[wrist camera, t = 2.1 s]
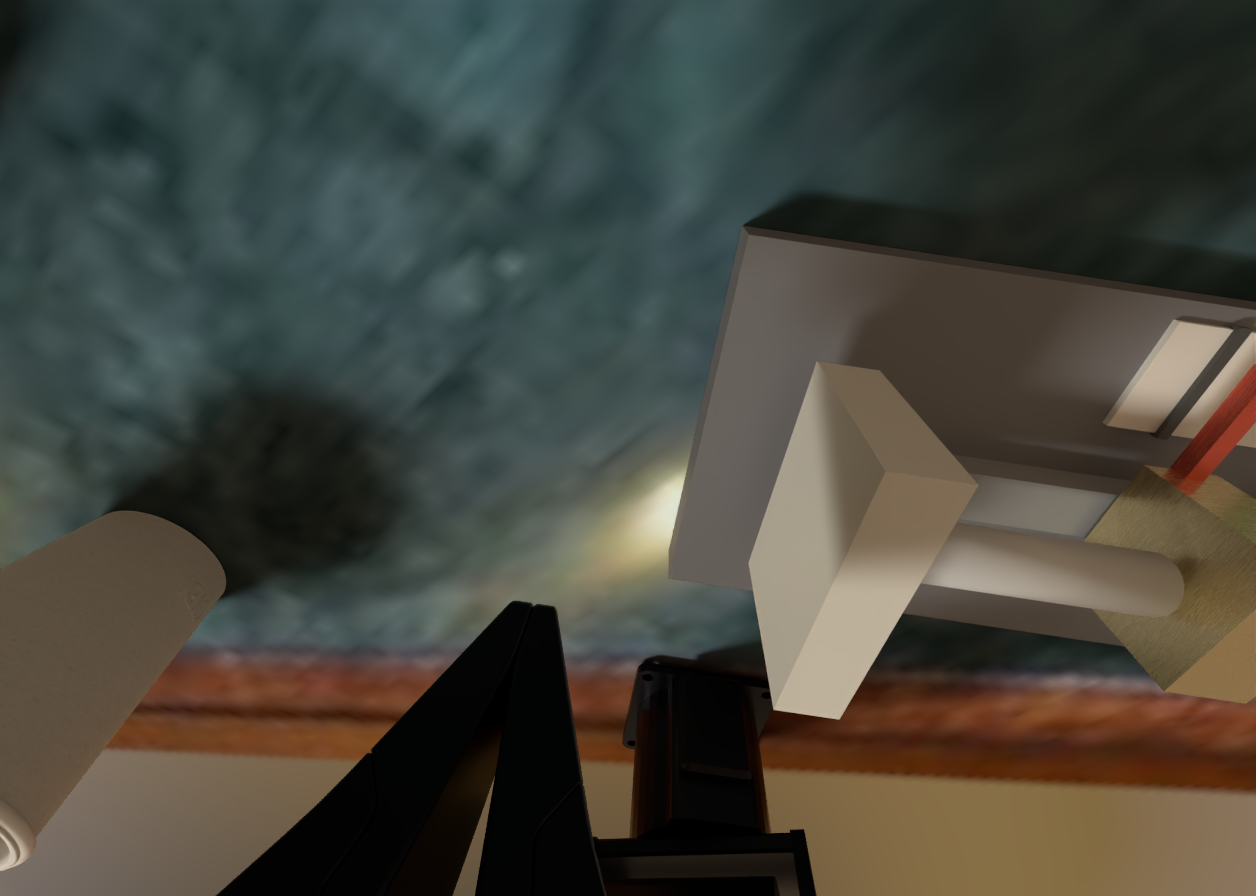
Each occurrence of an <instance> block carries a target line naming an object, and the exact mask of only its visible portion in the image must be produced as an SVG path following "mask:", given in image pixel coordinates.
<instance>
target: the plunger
mask: <svg viewBox="0 0 1256 896" xmlns="http://www.w3.org/2000/svg"><path fill="white" fill-rule="evenodd" d="M978 486H979V485H978V484H977V483H976V481H975V480H974V479H973V478H972V477H971V476H970V474H969V473H968V472H967V471H966V470H965V469H964V467H963V466H962V465H961V464H960V463H959V462H958V461H957V459H956V458H955V457H954V456H953V455H952V454H951V452H950V451H949V450H948V449H947V448H946V447H945V445H944V444H943V443H942V442H941V441H940V440H939V439H938V437H937V436H936V435H935V434H934V433H933V432H932V430H931V429H930V428H929V427H928V426H927V425H926V423H925V422H924V421H923V420H922V419H921V418H920V417H919V415H918V414H917V413H916V412H915V411H914V410H913V408H912V407H911V406H910V405H909V404H908V403H907V401H906V400H905V399H904V398H903V397H902V396H901V395H900V393H899V392H898V391H897V390H896V389H895V388H894V386H893V385H892V384H891V383H890V382H889V381H888V379H887V378H886V377H885V376H884V375H883V374H882V372H881V371H880V370H874V369H867V368H860V367H853V366H847V365H840V364H833V363H826V362H820V361H817V362H816V365H815V368H814V371H813V374H812V377H811V380H810V383H809V386H808V389H807V392H806V395H805V398H804V401H803V404H802V407H801V409H800V412H799V415H798V418H797V421H796V424H795V427H794V430H793V433H792V436H791V439H790V442H789V445H788V448H787V451H786V454H785V457H784V460H783V462H782V465H781V468H780V471H779V474H778V477H777V480H776V483H775V486H774V489H773V492H772V495H771V498H770V501H769V504H768V507H767V510H766V513H765V516H764V518H763V521H762V524H761V527H760V530H759V533H758V536H757V539H756V542H755V545H754V548H753V551H752V554H751V557H750V560H749V563H748V564H749V569H750V575H751V581H752V587H753V593H754V599H755V605H756V610H757V616H758V622H759V628H760V634H761V640H762V646H763V651H764V657H765V663H766V669H767V675H768V681H769V686H770V692H771V698H772V704H773V710H778V711H785V712H791V713H798V714H805V715H811V716H818V717H825V718H832V719H838V720H839V719H840V718H841V716H842V714H843V713H844V711H845V709H846V708H847V706H848V704H849V703H850V701H851V699H852V697H853V696H854V694H855V692H856V691H857V689H858V687H859V686H860V684H861V682H862V681H863V679H864V677H865V676H866V674H867V672H868V671H869V669H870V667H871V666H872V664H873V662H874V660H875V659H876V657H877V655H878V654H879V652H880V650H881V649H882V647H883V645H884V644H885V642H886V640H887V639H888V637H889V635H890V634H891V632H892V630H893V629H894V627H895V625H896V624H897V622H898V620H899V618H900V617H901V615H902V613H903V612H904V610H905V608H906V607H907V605H908V603H909V602H910V600H911V598H912V597H913V595H914V593H915V592H916V590H917V588H918V587H919V585H920V583H922V584H929V585H936V586H943V587H949V588H956V589H963V590H969V591H976V592H983V593H990V594H996V595H1003V596H1010V597H1017V598H1023V599H1030V600H1037V601H1043V602H1050V603H1057V604H1064V605H1070V606H1077V607H1084V608H1090V609H1097V610H1104V611H1111V612H1117V613H1124V614H1131V615H1138V616H1144V617H1151V618H1159V617H1164V616H1167V615H1169V614H1171V613H1172V612H1173V611H1175V610H1176V609H1177V608H1178V606H1179V605H1180V603H1181V601H1182V599H1183V595H1184V581H1183V577H1182V575H1181V572H1180V571H1179V569H1178V567H1177V566H1176V565H1175V564H1174V563H1173V562H1172V561H1171V560H1170V559H1169V558H1167V557H1166V556H1164V555H1162V554H1160V553H1157V552H1152V551H1145V550H1138V549H1132V548H1125V547H1118V546H1111V545H1105V544H1098V543H1091V542H1085V541H1078V540H1071V539H1064V538H1058V537H1051V536H1044V535H1037V534H1031V533H1024V532H1017V531H1011V530H1004V529H997V528H990V527H984V526H977V525H970V524H963V523H957V521H958V519H959V518H960V516H961V514H962V513H963V511H964V509H965V508H966V506H967V504H968V502H969V501H970V499H971V497H972V496H973V494H974V492H975V491H976V489H977V487H978Z"/></svg>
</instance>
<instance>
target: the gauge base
mask: <svg viewBox="0 0 1256 896" xmlns="http://www.w3.org/2000/svg"><path fill="white" fill-rule="evenodd" d="M817 361H820V362H826V363H833V364H840V365H847V366H853V367H860V368H867V369H874V370H880V371H881V372H882V374H883V375H884V376H885V377H886V378H887V379H888V381H889V382H890V383H891V384H892V385H893V386H894V388H895V389H896V390H897V391H898V392H899V393H900V395H901V396H902V397H903V398H904V399H905V400H906V401H907V403H908V404H909V405H910V406H911V407H912V408H913V410H914V411H915V412H916V413H917V414H918V415H919V417H920V418H921V419H922V420H923V421H924V422H925V423H926V425H927V426H928V427H929V428H930V429H931V430H932V432H933V433H934V434H935V435H936V436H937V437H938V439H939V440H940V441H941V442H942V443H943V444H944V445H945V447H946V448H947V449H948V450H949V451H950V452H951V454H952V455H953V456H954V457H955V458H956V459H957V461H958V462H959V463H960V464H961V465H962V466H963V467H964V469H965V470H966V471H967V472H968V473H969V474H970V476H971V477H972V478H973V479H974V480H975V481H976V483H977V484H978V485H979V486H978V487H977V489H976V491H975V492H974V494H973V496H972V497H971V499H970V501H969V502H968V504H967V506H966V508H965V509H964V511H963V513H962V514H961V516H960V518H959V519H958V521H957V523H963V524H970V525H977V526H984V527H990V528H997V529H1004V530H1011V531H1017V532H1024V533H1031V534H1037V535H1044V536H1051V537H1058V538H1064V539H1071V540H1078V541H1084V540H1085V539H1086V538H1087V536H1088V535H1089V534H1090V532H1091V531H1092V530H1093V529H1094V527H1095V526H1096V525H1097V523H1098V522H1099V521H1100V520H1101V518H1102V517H1103V516H1104V514H1105V513H1106V512H1107V511H1108V509H1109V508H1110V507H1111V506H1112V504H1113V503H1114V502H1115V500H1116V499H1117V498H1118V497H1119V495H1120V494H1121V493H1122V491H1123V490H1124V489H1125V488H1126V486H1127V485H1128V484H1129V482H1130V481H1131V480H1132V479H1133V477H1134V476H1135V475H1136V474H1137V472H1138V471H1139V470H1140V468H1141V467H1142V466H1143V465H1150V466H1157V467H1163V468H1170V467H1171V466H1172V464H1173V463H1174V462H1175V461H1176V459H1177V458H1178V457H1179V456H1180V454H1181V453H1182V452H1183V451H1184V450H1185V448H1186V447H1187V446H1188V445H1189V443H1190V442H1191V441H1192V440H1193V439H1194V437H1195V436H1196V435H1197V434H1198V432H1199V431H1200V430H1201V429H1202V428H1203V426H1204V425H1205V424H1206V423H1207V421H1208V420H1209V419H1210V418H1211V417H1212V415H1213V414H1214V413H1215V412H1216V410H1217V409H1218V408H1219V407H1220V405H1221V404H1222V403H1223V402H1224V401H1225V399H1226V398H1227V397H1228V396H1229V394H1230V393H1231V392H1232V391H1233V390H1234V388H1235V387H1236V386H1237V385H1238V383H1239V382H1240V381H1241V380H1242V379H1243V377H1244V376H1245V375H1246V374H1247V372H1248V371H1249V370H1250V369H1251V367H1252V366H1253V365H1254V364H1256V302H1253V301H1247V300H1240V299H1233V298H1226V297H1220V296H1213V295H1206V294H1199V293H1193V292H1186V291H1179V290H1173V289H1166V288H1159V287H1152V286H1146V285H1139V284H1132V283H1125V282H1119V281H1112V280H1105V279H1099V278H1092V277H1085V276H1078V275H1072V274H1065V273H1058V272H1051V271H1045V270H1038V269H1031V268H1025V267H1018V266H1011V265H1004V264H998V263H991V262H984V261H978V260H971V259H964V258H957V257H951V256H944V255H937V254H930V253H924V252H917V251H910V250H904V249H897V248H890V247H883V246H877V245H870V244H863V243H856V242H850V241H843V240H836V239H830V238H823V237H816V236H809V235H803V234H796V233H789V232H782V231H776V230H769V229H762V228H756V227H749V226H742V228H741V233H740V237H739V242H738V246H737V251H736V255H735V259H734V264H733V268H732V273H731V277H730V282H729V286H728V291H727V295H726V299H725V304H724V308H723V313H722V317H721V322H720V326H719V330H718V335H717V339H716V344H715V348H714V353H713V357H712V362H711V366H710V370H709V375H708V379H707V384H706V388H705V393H704V397H703V402H702V406H701V410H700V415H699V419H698V424H697V428H696V433H695V437H694V441H693V446H692V450H691V455H690V459H689V464H688V468H687V473H686V477H685V481H684V486H683V490H682V495H681V499H680V504H679V508H678V512H677V517H676V521H675V526H674V530H673V535H672V539H671V544H670V548H669V578H668V579H675V580H681V581H688V582H695V583H702V584H708V585H715V586H722V587H729V588H735V589H742V590H749V591H753V587H752V581H751V575H750V569H749V564H748V563H749V560H750V557H751V554H752V551H753V548H754V545H755V542H756V539H757V536H758V533H759V530H760V527H761V524H762V521H763V518H764V516H765V513H766V510H767V507H768V504H769V501H770V498H771V495H772V492H773V489H774V486H775V483H776V480H777V477H778V474H779V471H780V468H781V465H782V462H783V460H784V457H785V454H786V451H787V448H788V445H789V442H790V439H791V436H792V433H793V430H794V427H795V424H796V421H797V418H798V415H799V412H800V409H801V407H802V404H803V401H804V398H805V395H806V392H807V389H808V386H809V383H810V380H811V377H812V374H813V371H814V368H815V365H816V362H817ZM1170 469H1171V468H1170ZM1210 475H1217V476H1219V477H1221V478H1222V479H1224V480H1225V481H1227V482H1229V483H1230V484H1232V485H1233V486H1235V487H1237V488H1238V489H1240V490H1241V491H1243V492H1244V493H1246V494H1248V495H1249V496H1251V497H1252V498H1254V499H1256V423H1255V424H1254V425H1253V426H1252V427H1251V428H1250V429H1249V431H1248V432H1247V433H1246V434H1245V435H1244V436H1243V437H1242V439H1241V440H1240V441H1239V442H1238V443H1237V444H1236V446H1235V447H1234V448H1233V449H1232V450H1231V451H1230V452H1229V454H1228V455H1227V456H1226V457H1225V458H1224V459H1223V460H1222V462H1221V463H1220V464H1219V465H1218V466H1217V467H1216V468H1215V470H1214V471H1213V472H1212V473H1211V474H1210ZM903 614H910V615H917V616H923V617H930V618H937V619H944V620H950V621H957V622H964V623H971V624H977V625H984V626H991V627H997V628H1004V629H1011V630H1018V631H1024V632H1031V633H1038V634H1044V635H1051V636H1058V637H1065V638H1071V639H1078V640H1085V641H1092V642H1098V643H1105V644H1112V645H1118V646H1124V645H1123V644H1122V643H1121V642H1120V640H1119V639H1118V638H1117V637H1116V636H1115V635H1114V634H1113V632H1112V631H1111V630H1110V629H1109V628H1108V627H1107V626H1106V624H1105V623H1104V622H1103V621H1102V620H1101V619H1100V618H1099V616H1098V615H1097V614H1096V613H1095V612H1094V611H1093V610H1092V609H1090V608H1084V607H1077V606H1070V605H1064V604H1057V603H1050V602H1043V601H1037V600H1030V599H1023V598H1017V597H1010V596H1003V595H996V594H990V593H983V592H976V591H969V590H963V589H956V588H949V587H943V586H936V585H929V584H922V583H920V585H919V587H918V588H917V590H916V592H915V593H914V595H913V597H912V598H911V600H910V602H909V603H908V605H907V607H906V608H905V610H904V612H903Z"/></svg>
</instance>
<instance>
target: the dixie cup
mask: <svg viewBox="0 0 1256 896" xmlns="http://www.w3.org/2000/svg"><path fill="white" fill-rule="evenodd" d="M225 588H226V576H225V573H224V570H223V568H222V566H221V564H220V562H219V560H218V559H217V558H216V556H215V555H214V554H213V553H212V551H211V550H210V549H209V548H208V547H207V546H206V545H205V544H204V543H203V542H201V541H200V540H199V539H198V538H196V537H195V536H194V535H192V534H191V533H189V532H188V531H186V530H185V529H183V528H181V527H180V526H178V525H176V524H174V523H172V522H170V521H168V520H165V519H163V518H160V517H157V516H154V515H151V514H147V513H143V512H137V511H115V512H111V513H108V514H106V515H104V516H102V517H100V518H98V519H96V520H94V521H92V522H90V523H88V524H86V525H84V526H82V527H81V528H79V529H77V530H75V531H73V532H71V533H69V534H67V535H65V536H63V537H61V538H59V539H57V540H55V541H54V542H52V543H50V544H48V545H46V546H44V547H42V548H40V549H38V550H36V551H34V552H32V553H30V554H28V555H26V556H25V557H23V558H21V559H19V560H17V561H15V562H13V563H11V564H9V565H7V566H5V567H3V568H1V569H0V871H3V870H5V869H8V868H11V867H14V866H17V865H19V864H21V863H22V862H24V861H25V860H27V859H28V858H29V857H30V856H31V855H32V853H33V852H34V850H35V847H36V837H37V836H38V834H39V833H40V832H41V830H42V829H43V828H44V826H45V825H46V824H47V823H48V821H49V820H50V819H51V817H52V816H53V815H54V813H55V812H56V811H57V810H58V808H59V807H60V806H61V804H62V803H63V802H64V800H65V799H66V798H67V796H68V795H69V794H70V792H71V791H72V790H73V789H74V787H75V786H76V785H77V783H78V782H79V781H80V780H81V778H82V777H83V776H84V774H85V773H86V772H87V770H88V769H89V768H90V766H91V765H92V764H93V763H94V761H95V760H96V759H97V757H98V756H99V755H100V753H101V752H102V751H103V750H104V748H105V747H106V746H107V744H108V743H109V742H110V740H111V739H112V738H113V736H114V735H115V734H116V733H117V731H118V730H119V729H120V727H121V726H122V725H123V723H124V722H125V721H126V719H127V718H128V717H129V716H130V714H131V713H132V712H133V710H134V709H135V708H136V706H137V705H138V704H139V703H140V701H141V700H142V699H143V697H144V696H145V695H146V693H147V692H148V691H149V689H150V688H151V687H152V686H153V684H154V683H155V682H156V680H157V679H158V678H159V676H160V675H161V674H162V673H163V671H164V670H165V669H166V667H167V666H168V665H169V663H170V662H171V661H172V659H173V658H174V657H175V656H176V654H177V653H178V652H179V650H180V649H181V648H182V646H183V645H184V644H185V643H186V641H187V640H188V639H189V637H190V636H191V635H192V633H193V632H194V631H195V629H196V628H197V627H198V626H199V624H200V623H201V622H202V620H203V619H204V618H205V616H206V615H207V614H208V612H209V611H210V610H211V609H212V607H213V606H214V605H215V603H216V602H217V601H218V599H219V598H220V597H221V596H222V594H223V593H224V591H225Z"/></svg>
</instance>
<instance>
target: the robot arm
mask: <svg viewBox="0 0 1256 896" xmlns="http://www.w3.org/2000/svg"><path fill="white" fill-rule="evenodd" d="M772 708H773V704H772V698H771V692H770V686H769V681H765V680H759V679H752V678H745V677H738V676H732V675H725V674H718V673H712V672H705V671H698V670H691V669H685V668H678V667H671V666H665V665H658V664H651V663H644V664H641V665H640V666H639V667H638V668H637V673H636V678H635V682H634V687H633V691H632V696H631V701H630V705H629V710H628V714H627V719H626V724H625V728H624V733H623V745H624V746H625V747H627V748H631V749H635V757H634V772H633V773H634V774H633V788H632V804H631V819H630V834H629V838H623V839H598V838H597V837H593V836H592V832H591V826H590V821H589V815H588V810H587V802H586V796H585V790H584V786H583V779H582V771H581V765H580V758H579V752H578V745H577V739H576V732H575V726H574V719H573V713H572V706H571V700H570V693H569V687H568V680H567V673H566V667H565V660H564V654H563V647H562V641H561V634H560V628H559V621H558V615H557V609H556V608H555V607H554V606H549V605H542V604H536V605H535V606H534V605H533V604H532V603H529V602H522V601H512V602H511V603H509V604H508V605H507V607H506V608H505V609H504V610H503V611H502V612H501V613H500V614H499V615H498V616H497V617H496V618H495V619H494V620H493V621H492V622H491V623H490V624H489V626H488V627H487V628H486V629H485V630H484V631H483V632H482V633H481V634H480V635H479V636H478V637H477V638H476V639H475V640H474V641H473V642H472V643H471V644H470V646H469V647H468V648H467V649H466V650H465V651H464V652H463V653H462V654H461V655H460V656H459V657H458V658H457V659H456V660H455V661H454V662H453V663H452V665H451V666H450V667H449V668H448V669H447V670H446V671H445V672H444V673H443V674H442V675H441V676H440V677H439V678H438V679H437V680H436V681H435V682H434V684H433V685H432V686H431V687H430V688H429V689H428V690H427V691H426V692H425V693H424V694H423V695H422V696H421V697H420V698H419V699H418V700H417V701H416V702H415V704H414V705H413V706H412V707H411V708H410V709H409V710H408V711H407V712H406V713H405V714H404V715H403V716H402V717H401V718H400V719H399V720H398V721H397V723H396V724H395V725H394V726H393V727H392V728H391V729H390V730H389V731H388V732H387V733H386V734H385V735H384V736H383V737H382V738H381V739H380V740H379V742H378V743H377V744H376V745H375V746H374V747H373V748H372V749H371V753H367V754H366V755H365V756H364V757H363V758H362V759H361V760H360V761H359V762H358V763H357V764H356V766H355V767H354V768H353V769H352V770H351V771H350V772H349V773H348V774H347V775H346V776H345V777H344V778H343V779H342V780H341V781H340V782H339V783H338V784H337V785H336V786H335V787H334V788H333V789H332V790H331V791H330V792H329V793H328V794H327V795H326V796H325V797H324V798H323V799H322V800H321V801H320V802H319V803H318V804H317V805H316V806H315V807H314V808H313V809H312V810H311V811H309V812H308V814H306V815H305V816H304V817H303V818H302V819H301V820H300V821H299V822H298V823H296V825H294V826H293V827H292V828H291V829H290V830H289V831H288V832H287V833H286V834H285V835H284V836H282V837H281V838H280V839H279V840H278V841H277V842H276V843H274V844H273V845H272V846H271V847H270V848H269V849H268V850H267V851H266V852H264V853H263V854H262V855H261V856H260V857H259V858H258V859H257V860H255V861H254V862H253V863H252V864H251V865H250V866H249V867H247V868H246V869H245V870H244V871H243V872H242V873H241V874H240V875H238V876H237V877H236V878H235V879H234V880H233V881H232V882H231V883H230V884H228V885H227V886H226V887H225V888H224V889H223V890H221V891H220V892H219V893H218V894H217V895H216V896H453V893H454V890H455V887H456V884H457V881H458V878H459V875H460V873H461V870H462V867H463V864H464V862H465V859H466V856H467V853H468V850H469V847H470V845H471V842H472V839H473V836H474V833H475V830H476V828H477V825H478V822H479V819H480V816H481V813H482V810H483V808H484V805H485V802H486V799H487V796H488V793H489V791H490V788H491V785H492V782H493V779H494V776H495V779H494V785H493V791H492V797H491V803H490V809H489V815H488V821H487V827H486V833H485V839H484V844H483V850H482V857H481V862H480V868H479V874H478V880H477V886H476V893H475V896H817V895H816V890H815V884H814V879H813V874H812V869H811V863H810V859H809V853H808V848H807V842H806V837H805V833H804V829H800V830H790V833H771V828H770V821H769V814H768V806H767V799H766V792H765V784H764V777H763V769H762V762H761V755H760V748H759V740H758V738H759V736H760V734H761V732H762V729H763V727H764V725H765V723H766V721H767V719H768V717H769V714H770V712H771V710H772Z"/></svg>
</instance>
